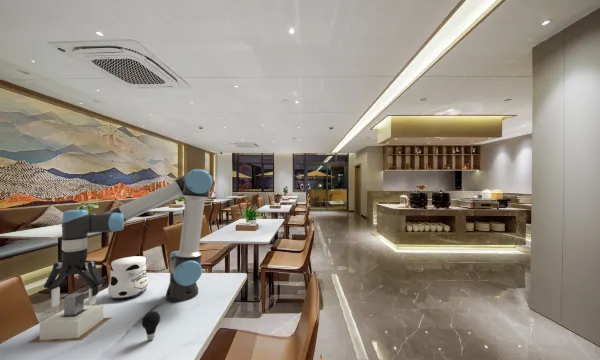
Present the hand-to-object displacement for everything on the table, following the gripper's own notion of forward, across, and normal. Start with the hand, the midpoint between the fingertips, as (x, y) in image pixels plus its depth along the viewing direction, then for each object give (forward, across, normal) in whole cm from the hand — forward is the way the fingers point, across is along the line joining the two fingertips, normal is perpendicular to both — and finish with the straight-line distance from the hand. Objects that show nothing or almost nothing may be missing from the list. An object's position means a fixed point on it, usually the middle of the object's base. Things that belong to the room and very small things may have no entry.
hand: (73, 304), depth 98 cm
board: (+10, 0, 0) cm, 10 cm away
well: (+9, 0, 0) cm, 9 cm away
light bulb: (+11, -33, +8) cm, 36 cm away
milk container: (+11, 0, -35) cm, 37 cm away
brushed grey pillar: (+8, 0, 0) cm, 8 cm away
